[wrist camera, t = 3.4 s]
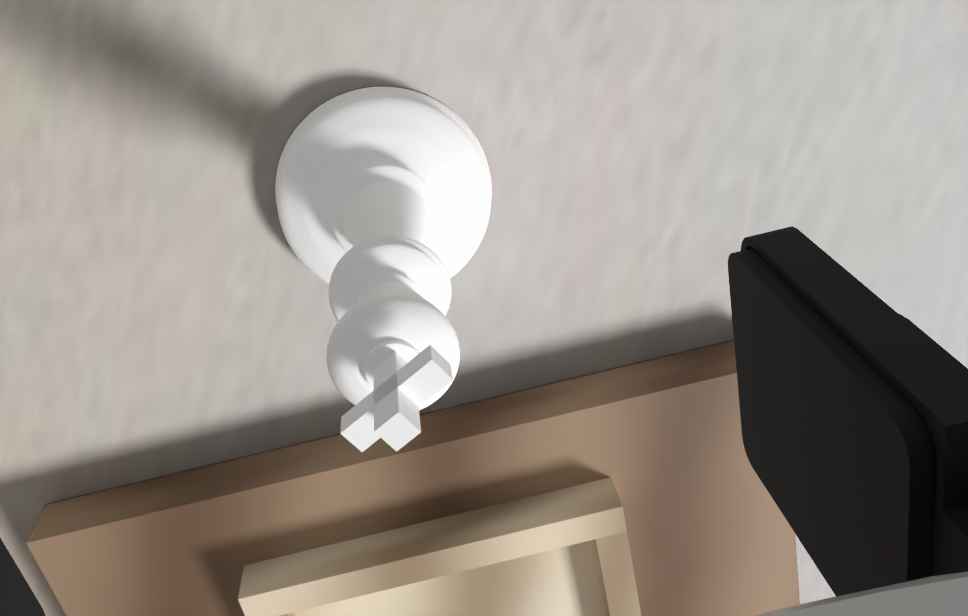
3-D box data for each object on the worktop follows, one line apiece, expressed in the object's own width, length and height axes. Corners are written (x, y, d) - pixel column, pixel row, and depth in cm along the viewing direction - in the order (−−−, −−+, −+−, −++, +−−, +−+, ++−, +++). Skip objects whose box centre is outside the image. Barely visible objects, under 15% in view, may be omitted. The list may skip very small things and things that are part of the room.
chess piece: (533, 201, 21) (654, 435, 12) (379, 329, 22) (385, 633, 13) (392, 38, 19) (412, 174, 10) (229, 186, 20) (119, 428, 11)
